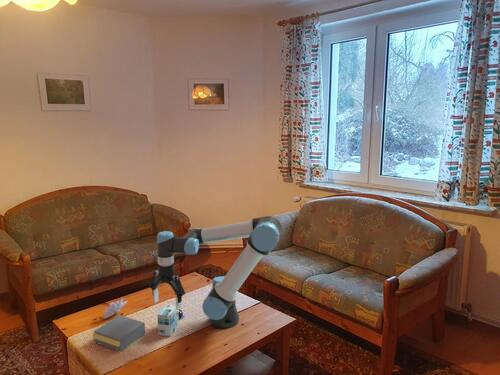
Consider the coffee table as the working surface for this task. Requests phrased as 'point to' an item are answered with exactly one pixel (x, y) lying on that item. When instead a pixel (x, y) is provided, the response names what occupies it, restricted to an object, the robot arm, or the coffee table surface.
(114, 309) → the water lily
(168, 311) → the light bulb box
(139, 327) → the book
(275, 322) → the coffee table surface
